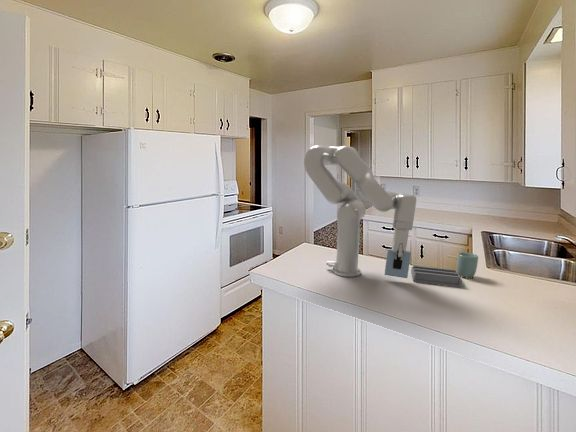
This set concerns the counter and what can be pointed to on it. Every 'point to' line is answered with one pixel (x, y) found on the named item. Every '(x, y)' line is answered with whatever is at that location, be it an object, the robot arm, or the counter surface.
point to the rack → (436, 276)
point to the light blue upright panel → (404, 268)
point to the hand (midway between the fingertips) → (396, 267)
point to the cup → (467, 264)
